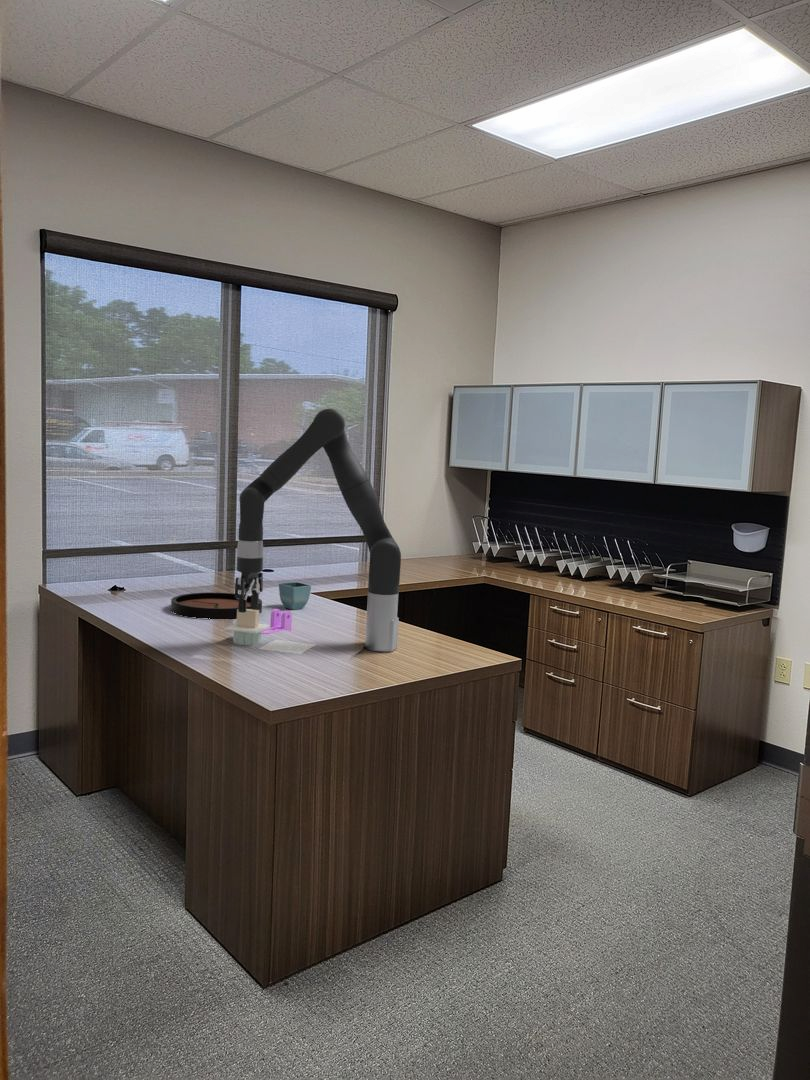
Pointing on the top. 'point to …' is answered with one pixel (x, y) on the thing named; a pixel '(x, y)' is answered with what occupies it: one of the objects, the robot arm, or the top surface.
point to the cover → (247, 622)
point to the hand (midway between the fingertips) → (248, 609)
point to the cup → (246, 638)
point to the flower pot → (294, 594)
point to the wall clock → (209, 605)
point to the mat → (287, 646)
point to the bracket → (279, 621)
